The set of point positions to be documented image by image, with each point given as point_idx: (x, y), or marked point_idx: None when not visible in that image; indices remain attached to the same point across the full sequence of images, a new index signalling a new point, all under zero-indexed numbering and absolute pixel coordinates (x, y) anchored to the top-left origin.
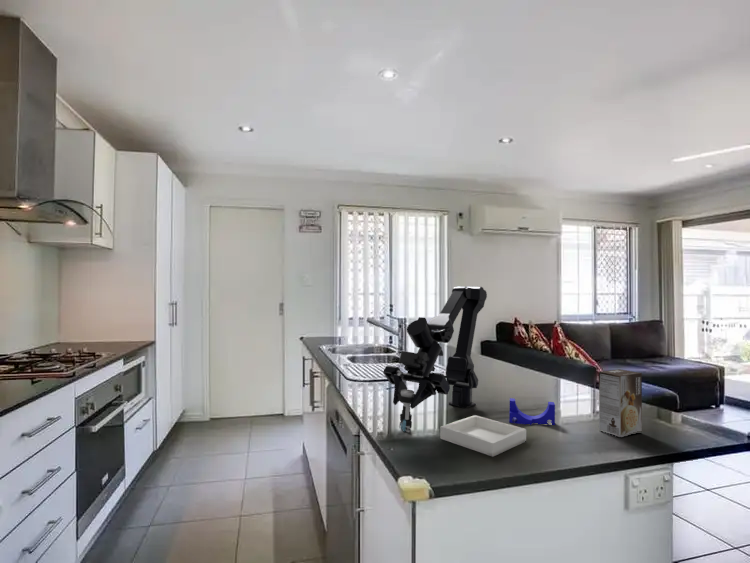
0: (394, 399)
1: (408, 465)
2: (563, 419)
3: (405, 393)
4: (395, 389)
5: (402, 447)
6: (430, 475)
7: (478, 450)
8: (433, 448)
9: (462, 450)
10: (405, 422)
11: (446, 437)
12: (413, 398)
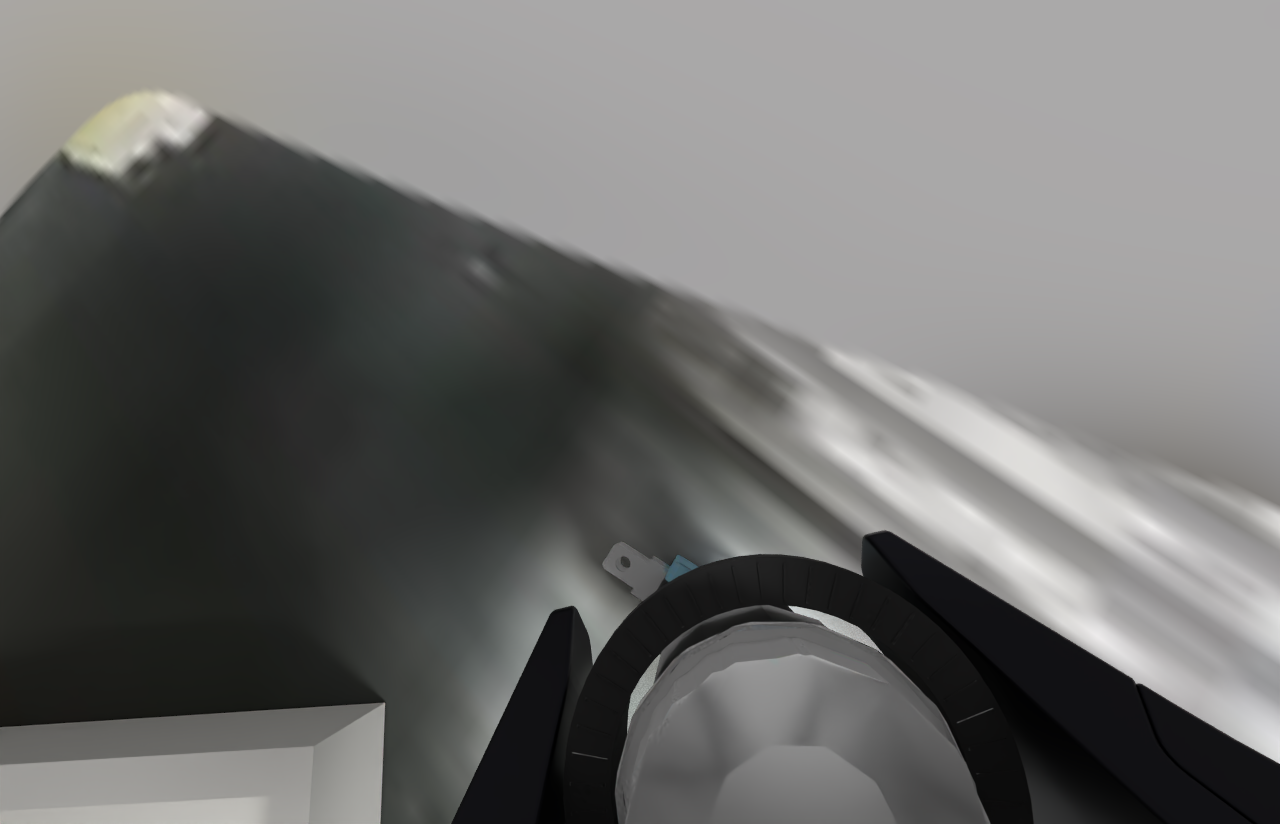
0: (907, 559)
1: (260, 205)
2: None
3: (711, 669)
4: (1151, 715)
5: (455, 338)
6: (112, 218)
7: (23, 728)
8: (304, 497)
9: (137, 644)
10: (669, 574)
11: (302, 716)
12: (548, 728)
